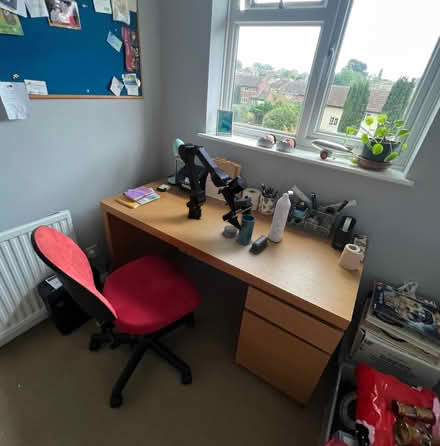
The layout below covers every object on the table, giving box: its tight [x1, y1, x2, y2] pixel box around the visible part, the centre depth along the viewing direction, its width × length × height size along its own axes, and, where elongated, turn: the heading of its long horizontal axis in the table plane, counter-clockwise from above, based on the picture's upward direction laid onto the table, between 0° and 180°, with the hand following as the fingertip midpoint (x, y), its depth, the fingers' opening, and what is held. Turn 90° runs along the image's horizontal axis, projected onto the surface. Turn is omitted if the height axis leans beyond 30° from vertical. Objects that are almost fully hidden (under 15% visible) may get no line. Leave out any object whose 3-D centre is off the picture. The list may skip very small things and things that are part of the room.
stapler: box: [249, 235, 269, 255], centre depth 116 cm, size 10×4×4 cm, turn 142°
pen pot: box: [236, 214, 256, 245], centre depth 118 cm, size 7×7×13 cm
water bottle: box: [267, 190, 294, 243], centre depth 120 cm, size 9×6×25 cm
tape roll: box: [223, 224, 238, 238], centre depth 125 cm, size 7×7×3 cm
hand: (246, 226), depth 117 cm, fingers open, 9 cm apart
